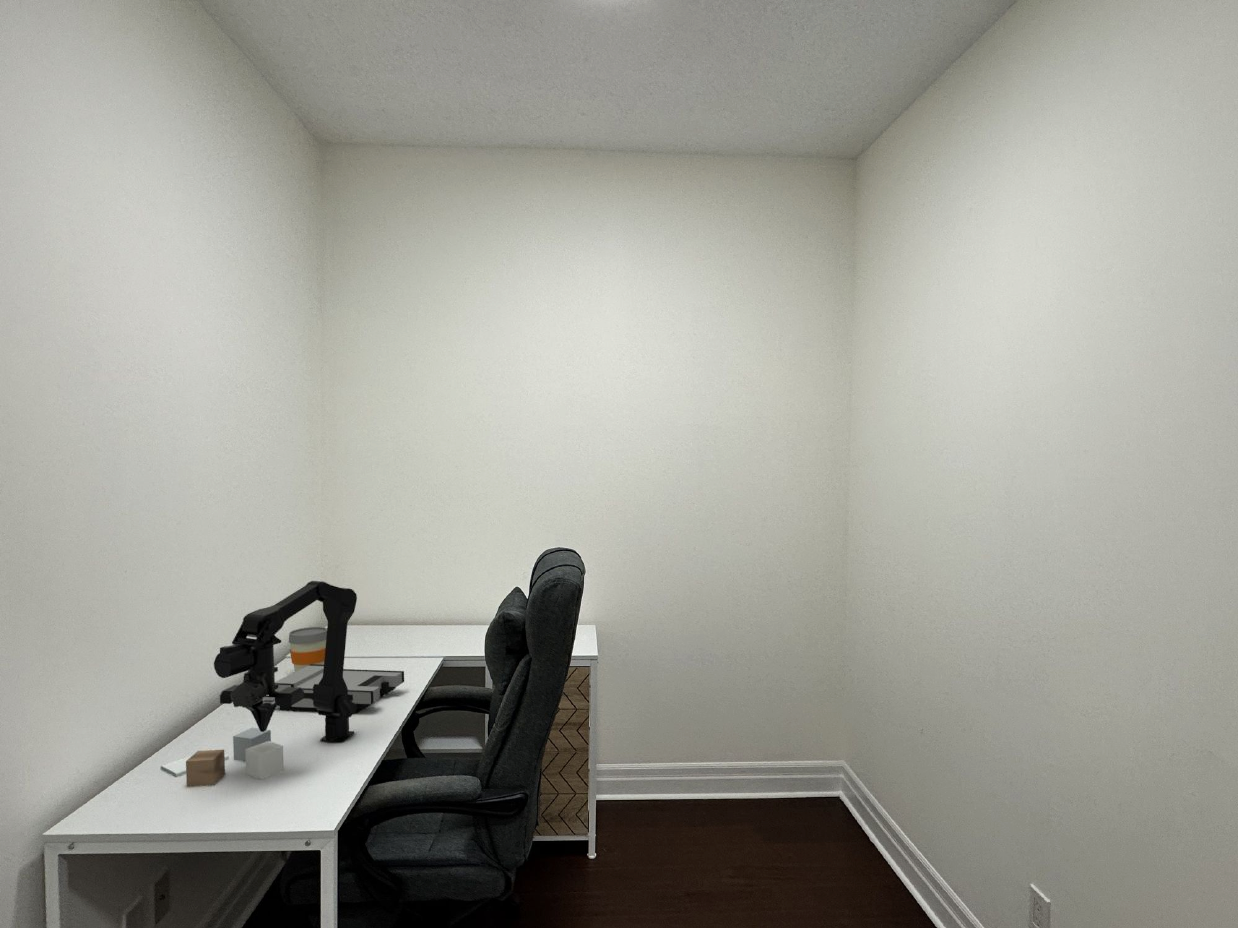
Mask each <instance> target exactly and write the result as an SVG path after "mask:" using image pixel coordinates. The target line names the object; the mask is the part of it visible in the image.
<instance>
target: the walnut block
mask: <svg viewBox="0 0 1238 928" xmlns="http://www.w3.org/2000/svg"><path fill="white" fill-rule="evenodd" d="M224 754H225V749H215V750H211V749H207V750H197V751H196V752H194V754H192V755H190V756H191V757H190V756H189V757H190V758H189V759H188V760H187V761H186V774H185V775H186V777H185V778H186V787H187V788H191V787H192V788H193V787H206V786H207V787H208V786H215V785H216V784H217V783H218V782H219V781H220V780H221V779H222V778H223V777H224V776H225V775H226V760H225V756H224Z"/></svg>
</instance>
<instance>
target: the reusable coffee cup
mask: <svg viewBox="0 0 1238 928" xmlns="http://www.w3.org/2000/svg"><path fill="white" fill-rule="evenodd" d="M326 637H327V627H324V626H323V627H322V626H310V627H303V628H297V629H294V630H292V631H289V633H288V643H289V646H290V649H289V654H290V659H291V663H292V664H293V667H294V668H293V669H294V672H296V671H298V670H300V669H302V668H304V667H306V666H308V665H310V664H319V665H324V658H325V648H326Z"/></svg>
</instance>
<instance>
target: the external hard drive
mask: <svg viewBox="0 0 1238 928" xmlns="http://www.w3.org/2000/svg"><path fill="white" fill-rule="evenodd" d="M210 750H216V749H215V748H212V749H210ZM191 756H192V755H189V756H187V757H183V758H181V759H178V760H175V761H172V762H169V763H168V762H167V763H165V764H162V765H160V770H161V771H163V772H165V773H167V774H169V775H170V776H173V777H175V778H178V777H181V776H184V775H186V761H187V760H188V759H189V758H190V757H191ZM224 756H225V761H228V760H230V758H229V755H228V754H227V753H224Z"/></svg>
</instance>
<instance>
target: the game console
mask: <svg viewBox="0 0 1238 928" xmlns="http://www.w3.org/2000/svg"><path fill="white" fill-rule="evenodd" d="M323 669H324V665H319V664H310V665H308V666H306V667H304V668H302V669H300V670H298V671H296V672H295V671H294V672H292V673H289V674H288V675H286V676H284V677H283V678H280V679H279V680H275V684H278V689H276V690H275V691H279V692H280V691H282V690H283V689H285V688H287V687H301V688H302V689H303V691H304V699H302V700H301V701H299V702H297V703H295V704H294V705H292V706H278V705H277V707H279V708H278V709H279V712H281V711H283V712H284V711H286V712H300V713H301V712H302V713H318V712H317V709H316V708H315V707H314V705H313V700H311V699H312V696H313V686H314V684H318V683H319V682H320V680H321V679H322V677H323ZM343 679H344V681H345V683H346V685H347V688H348V699H350V700H351V701H352V702H353V703H354V704H356V705H357V707H356V712H355V714H354V715H358V714H360V713H361V712H362V711H363V710H366V709H367V708H369V707H370V706H372V705H373V704H375V703H376V702H377V701H378V700H380V699H382V698H383V697H384V696H385V695H388V694H390V693H391V692H392V691H394V690H395V689H396V688H397V687H398V686H400V685H402V684H403V683H405V670H381V669H380V670H379V669H378V670H377V669H376V670H375V669H351V668H350V669H349V668H345V669H344V668H343ZM280 710H281V711H280Z"/></svg>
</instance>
